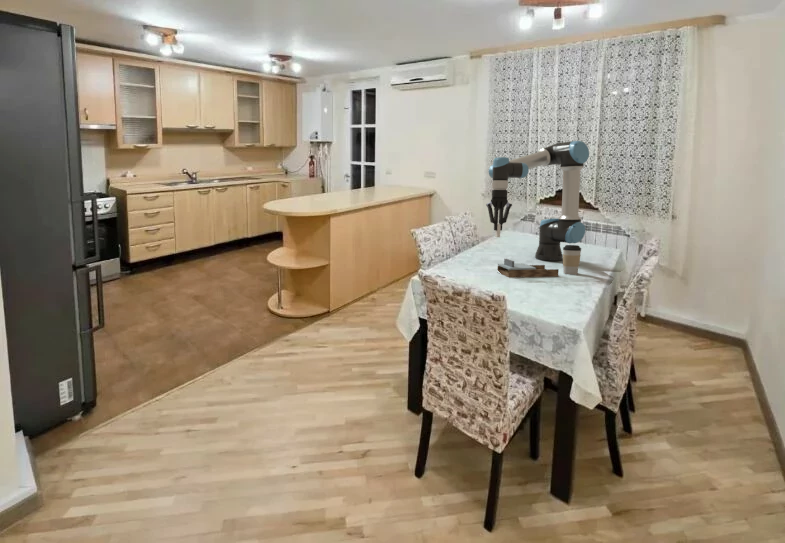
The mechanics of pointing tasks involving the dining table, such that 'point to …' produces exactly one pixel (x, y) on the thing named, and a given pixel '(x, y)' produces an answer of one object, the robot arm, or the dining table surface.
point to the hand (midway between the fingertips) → (497, 237)
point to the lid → (515, 265)
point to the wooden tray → (529, 272)
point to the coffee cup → (571, 259)
